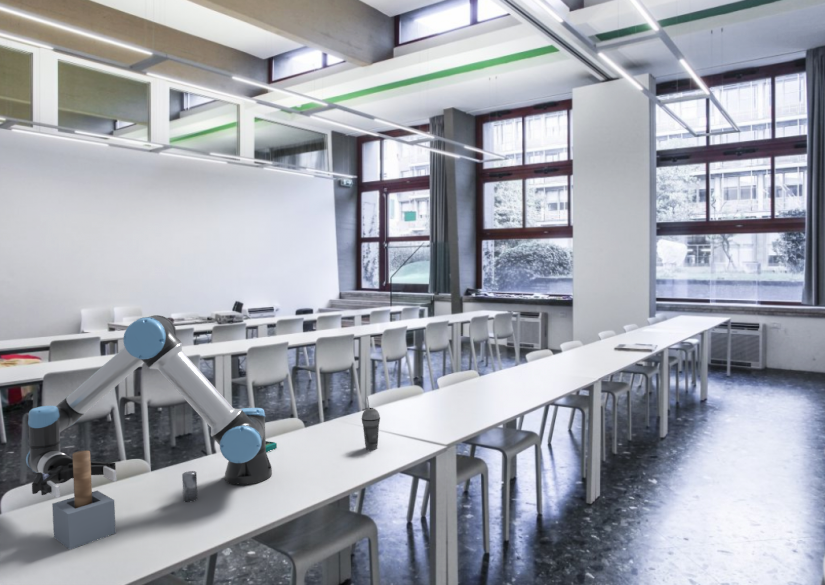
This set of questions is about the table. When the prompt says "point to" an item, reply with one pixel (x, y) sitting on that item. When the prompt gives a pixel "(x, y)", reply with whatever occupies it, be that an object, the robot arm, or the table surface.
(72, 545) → the collar block
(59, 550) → the table surface
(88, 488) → the long walnut pin
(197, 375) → the robot arm
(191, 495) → the short steel pin
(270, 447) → the digital multimeter
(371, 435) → the beverage cup
